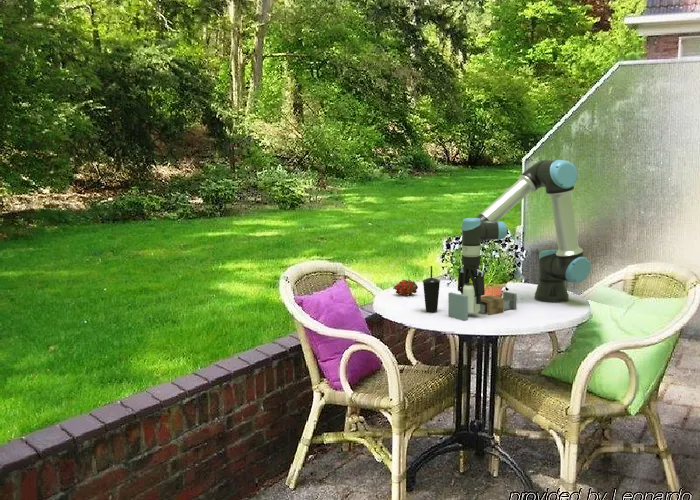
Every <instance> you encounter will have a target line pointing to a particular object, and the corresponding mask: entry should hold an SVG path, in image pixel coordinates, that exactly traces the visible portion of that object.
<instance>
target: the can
mask: <svg viewBox="0 0 700 500" xmlns="http://www.w3.org/2000/svg"><path fill="white" fill-rule="evenodd" d="M463 295H465V296H468V314H469V315H472V314H473V315H474V314H478V313H479V312H474V296H475V291H474V287H473V282H469V283H467V284H466V283H465V284H464V287H463Z"/></svg>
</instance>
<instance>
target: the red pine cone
mask: <svg viewBox="0 0 700 500" xmlns="http://www.w3.org/2000/svg"><path fill="white" fill-rule="evenodd" d="M418 288H419V286H418V285H417V283H416V282H415V281H413V280H412V279H407V280H406V279H402V280H401V281H399V282H398V283H397V284H396V285H394V286H393V289H392V290H395V293H396V294H398V295H399V296H404V297H407V296H409V297H410V296H411V297H412V295H413V294H416V293H417V292H418Z"/></svg>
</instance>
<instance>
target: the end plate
mask: <svg viewBox="0 0 700 500" xmlns="http://www.w3.org/2000/svg"><path fill="white" fill-rule="evenodd" d="M447 295H448V297H447V298H448V317H450V318H453V319H457V320H461V321H464V322H465V321H468V317H469V316H468V296H465V295H461V293H455V292H452V291H451V292H448V293H447Z"/></svg>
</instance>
